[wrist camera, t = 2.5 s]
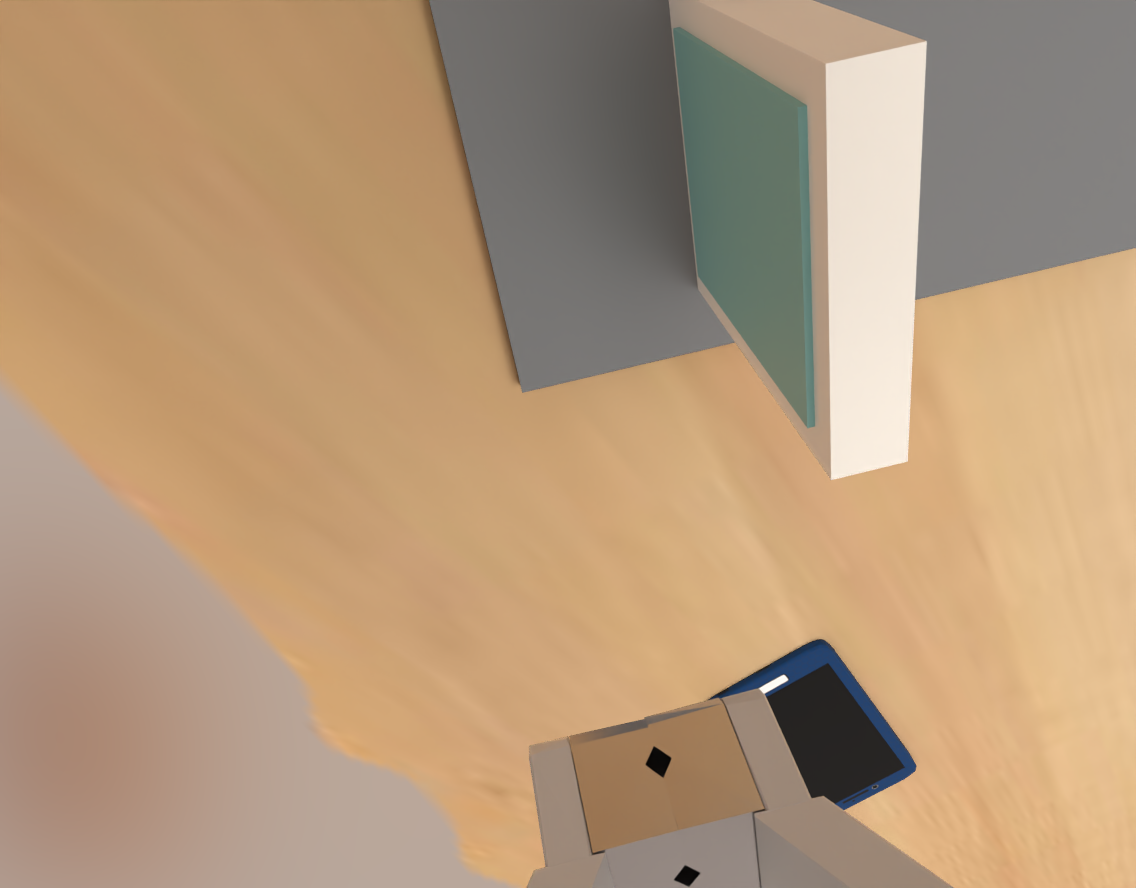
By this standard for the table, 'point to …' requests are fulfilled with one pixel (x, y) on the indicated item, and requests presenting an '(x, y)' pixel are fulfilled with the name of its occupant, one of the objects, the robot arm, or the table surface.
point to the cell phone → (830, 725)
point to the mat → (658, 173)
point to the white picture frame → (808, 209)
